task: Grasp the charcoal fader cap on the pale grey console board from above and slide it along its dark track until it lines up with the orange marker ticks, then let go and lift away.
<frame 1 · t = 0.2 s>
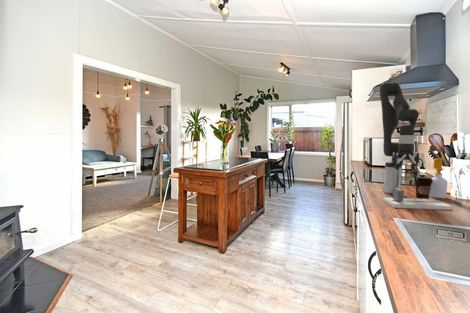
hand: (404, 169, 149), 17 cm above the worktop, tool pointing down, fingers open, 8 cm apart
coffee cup: (422, 199, 150), on the worktop
fader cap: (398, 194, 137), point 6 cm above the worktop, slide at -9.0 cm
console board: (414, 205, 137), on the worktop
soap bottle: (436, 196, 155), on the worktop
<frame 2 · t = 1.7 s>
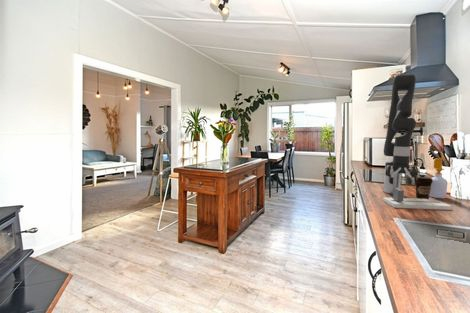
hand: (399, 184, 137), 12 cm above the worktop, tool pointing down, fingers open, 8 cm apart
nothing on the worktop moved.
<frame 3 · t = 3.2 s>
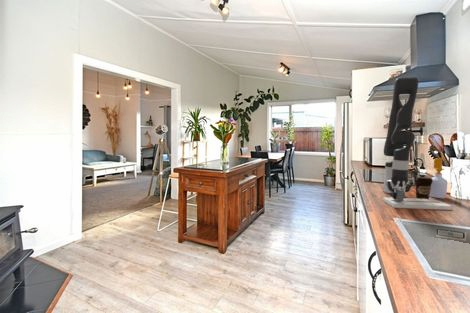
hand: (397, 198, 138), 3 cm above the worktop, tool pointing down, fingers closed on fader cap, 3 cm apart
fader cap: (398, 194, 137), point 6 cm above the worktop, slide at -9.0 cm, touching gripper
everything else where it was.
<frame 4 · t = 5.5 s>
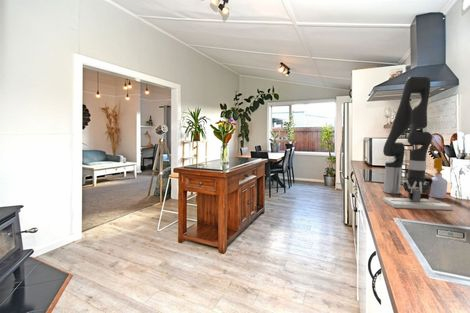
hand: (414, 199, 137), 3 cm above the worktop, tool pointing down, fingers closed on fader cap, 3 cm apart
fader cap: (414, 195, 136), point 6 cm above the worktop, slide at -0.5 cm, touching gripper
everything else where it was.
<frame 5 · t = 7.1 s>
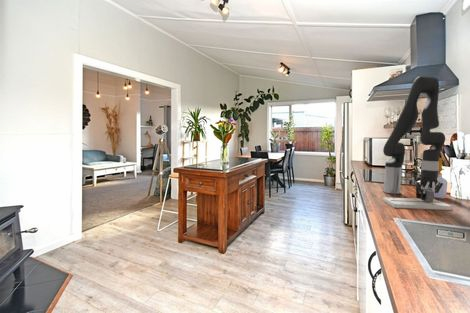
hand: (426, 199, 136), 3 cm above the worktop, tool pointing down, fingers closed on fader cap, 3 cm apart
fader cap: (427, 195, 136), point 6 cm above the worktop, slide at 5.9 cm, touching gripper
everything else where it was.
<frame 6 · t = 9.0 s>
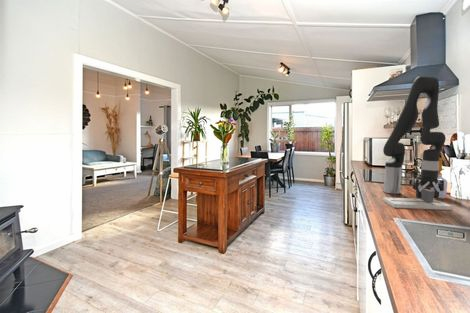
hand: (427, 198, 136), 4 cm above the worktop, tool pointing down, fingers open, 8 cm apart
fader cap: (427, 195, 136), point 6 cm above the worktop, slide at 6.0 cm
everything else where it was.
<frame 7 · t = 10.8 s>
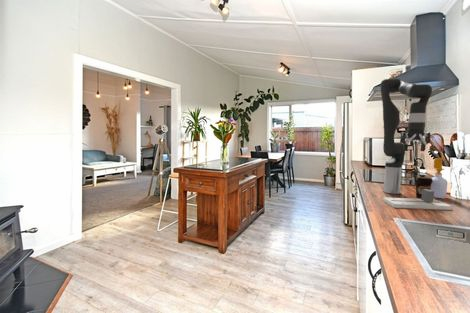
hand: (413, 151, 138), 30 cm above the worktop, tool pointing down, fingers open, 8 cm apart
nothing on the worktop moved.
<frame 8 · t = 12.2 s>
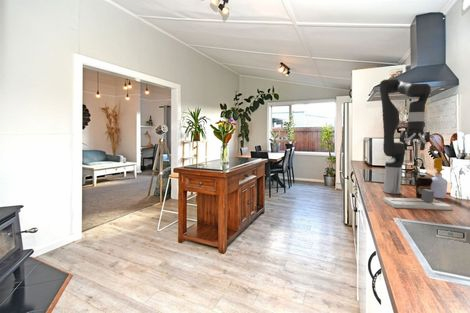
hand: (413, 150, 138), 30 cm above the worktop, tool pointing down, fingers open, 8 cm apart
nothing on the worktop moved.
at the end: fader cap slide at 6.0 cm; the gripper is holding nothing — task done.
